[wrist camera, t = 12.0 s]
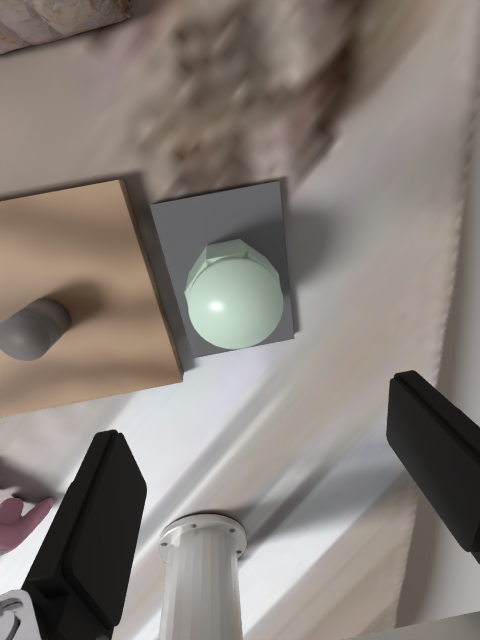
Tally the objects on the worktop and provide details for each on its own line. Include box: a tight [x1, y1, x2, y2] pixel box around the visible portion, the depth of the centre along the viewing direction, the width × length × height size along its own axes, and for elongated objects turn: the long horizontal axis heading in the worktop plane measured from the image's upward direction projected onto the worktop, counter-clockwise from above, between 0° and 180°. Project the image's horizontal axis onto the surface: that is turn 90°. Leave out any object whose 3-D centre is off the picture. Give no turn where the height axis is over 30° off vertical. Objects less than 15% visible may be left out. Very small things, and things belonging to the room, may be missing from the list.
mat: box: [150, 181, 294, 358], centre depth 25 cm, size 14×10×1 cm
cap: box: [184, 239, 283, 349], centre depth 22 cm, size 7×7×6 cm
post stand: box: [0, 180, 184, 417], centre depth 23 cm, size 18×18×6 cm
